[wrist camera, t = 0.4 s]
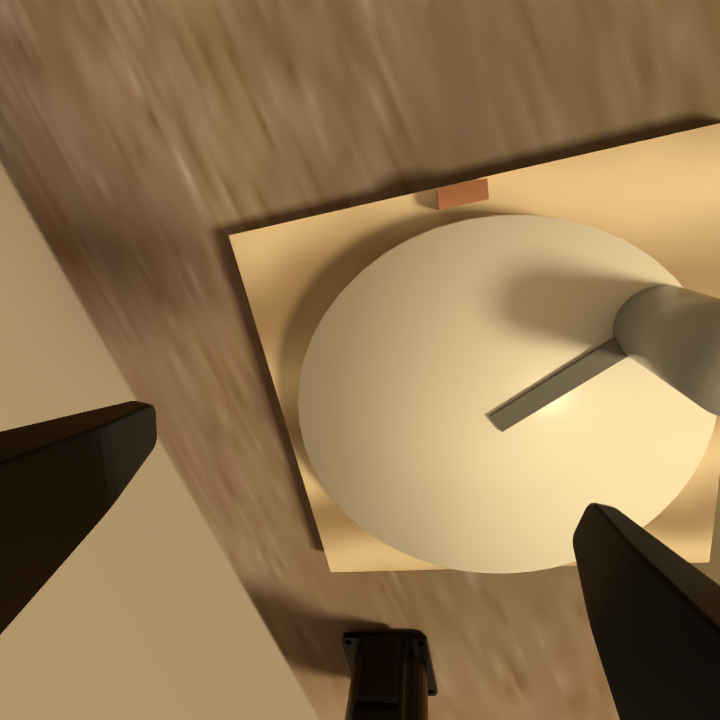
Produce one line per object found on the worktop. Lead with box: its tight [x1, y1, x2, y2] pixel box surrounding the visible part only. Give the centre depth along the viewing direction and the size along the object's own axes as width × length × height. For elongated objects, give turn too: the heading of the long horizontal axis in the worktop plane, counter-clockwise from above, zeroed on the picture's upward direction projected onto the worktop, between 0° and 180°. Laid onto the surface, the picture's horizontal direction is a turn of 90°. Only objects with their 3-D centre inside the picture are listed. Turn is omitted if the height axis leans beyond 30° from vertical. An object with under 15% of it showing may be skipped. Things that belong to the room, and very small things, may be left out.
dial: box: [298, 215, 720, 573], centre depth 17 cm, size 19×19×6 cm
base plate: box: [229, 123, 720, 572], centre depth 20 cm, size 22×22×2 cm
